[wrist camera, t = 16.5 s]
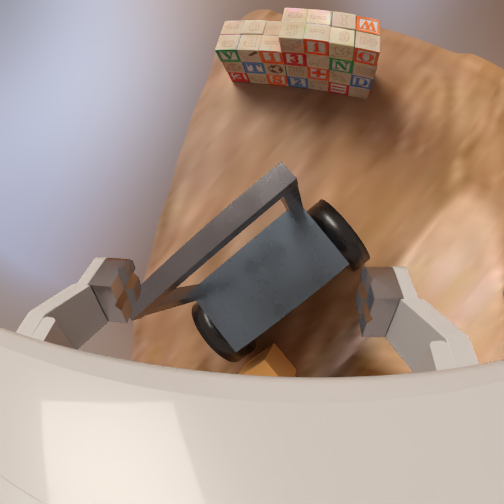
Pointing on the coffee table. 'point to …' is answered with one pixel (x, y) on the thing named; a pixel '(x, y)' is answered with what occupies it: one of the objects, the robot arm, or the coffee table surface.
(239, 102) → the coffee table surface
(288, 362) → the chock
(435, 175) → the coffee table surface
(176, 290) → the trolley
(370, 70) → the stack of blocks
